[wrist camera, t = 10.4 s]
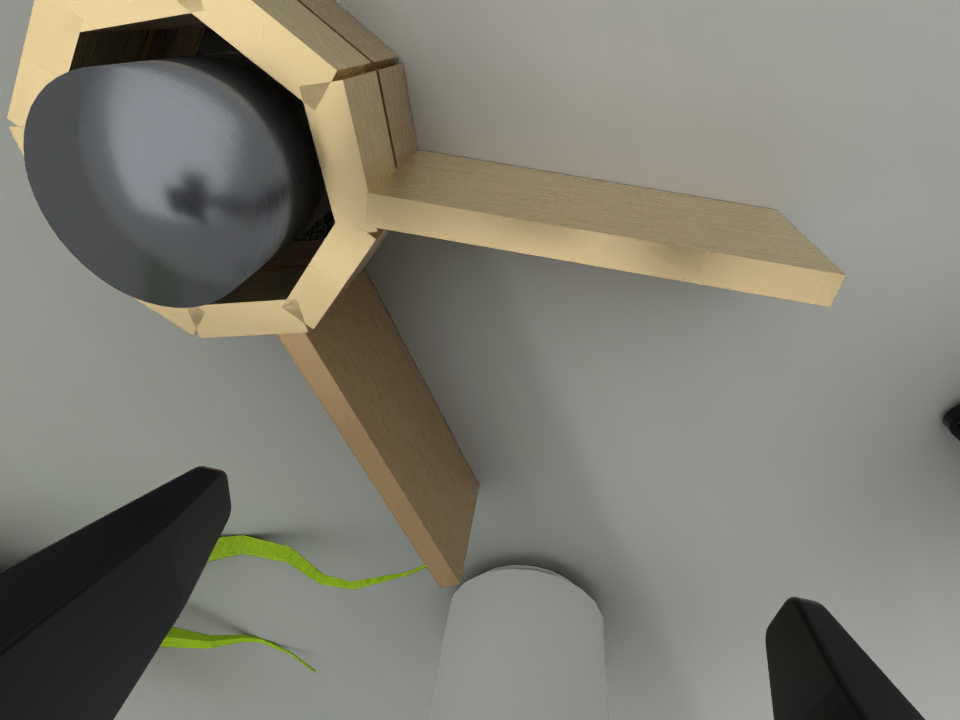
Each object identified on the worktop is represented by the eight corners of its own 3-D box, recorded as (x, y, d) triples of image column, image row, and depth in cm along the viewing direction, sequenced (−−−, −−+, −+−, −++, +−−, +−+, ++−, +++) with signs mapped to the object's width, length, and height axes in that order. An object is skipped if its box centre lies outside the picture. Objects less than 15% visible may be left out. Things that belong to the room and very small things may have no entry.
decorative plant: (410, 709, 35) (326, 1084, 23) (-45, 595, 36) (-375, 908, 23) (463, 519, 26) (367, 990, 13) (-162, 363, 26) (-838, 687, 13)
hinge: (785, 218, 17) (857, 286, 13) (469, 493, 25) (449, 592, 20) (274, -269, 13) (129, -409, 9) (88, 242, 21) (-36, 301, 16)
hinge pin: (391, 125, 17) (297, 183, 11) (315, 245, 19) (205, 346, 14) (246, 7, 16) (56, 2, 10) (184, 150, 18) (2, 215, 12)
